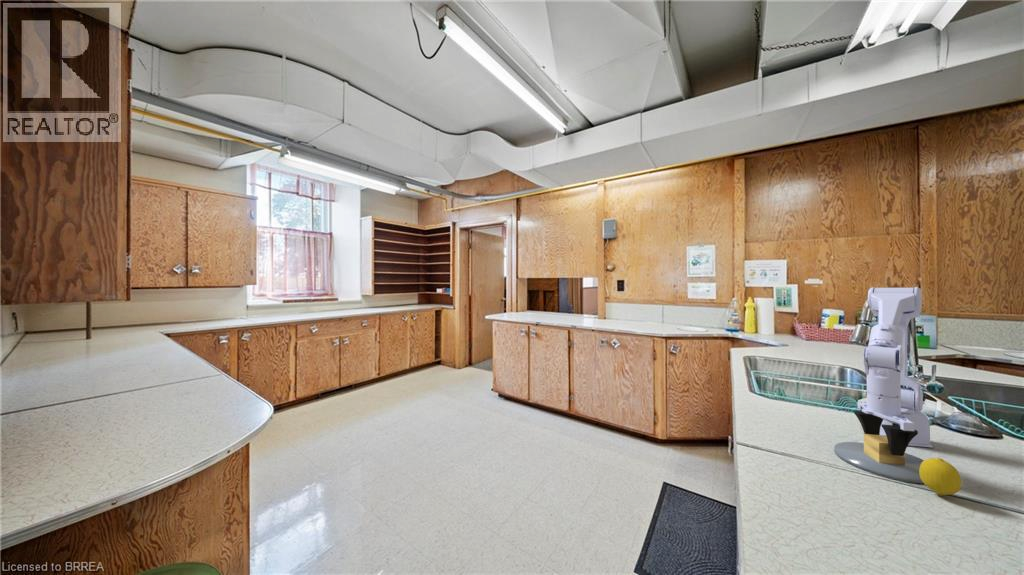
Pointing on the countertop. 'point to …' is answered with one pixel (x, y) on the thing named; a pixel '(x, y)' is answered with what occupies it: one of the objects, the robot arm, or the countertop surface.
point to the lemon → (940, 476)
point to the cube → (881, 450)
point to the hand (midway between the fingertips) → (883, 447)
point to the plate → (859, 459)
